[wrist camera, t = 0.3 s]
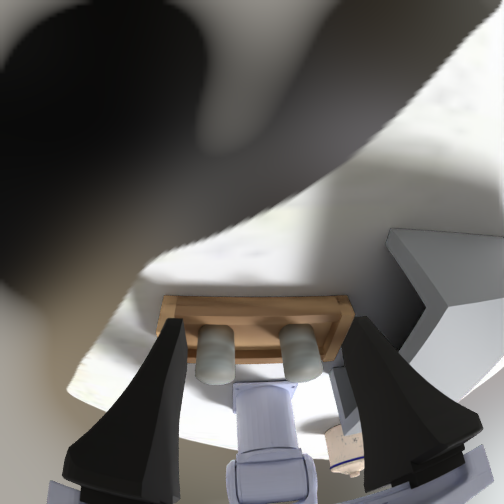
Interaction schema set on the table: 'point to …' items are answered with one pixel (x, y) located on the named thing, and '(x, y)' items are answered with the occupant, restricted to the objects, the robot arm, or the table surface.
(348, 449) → the teacup with lid
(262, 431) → the robot arm
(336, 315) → the teak tray
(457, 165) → the table surface
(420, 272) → the grey low stand
